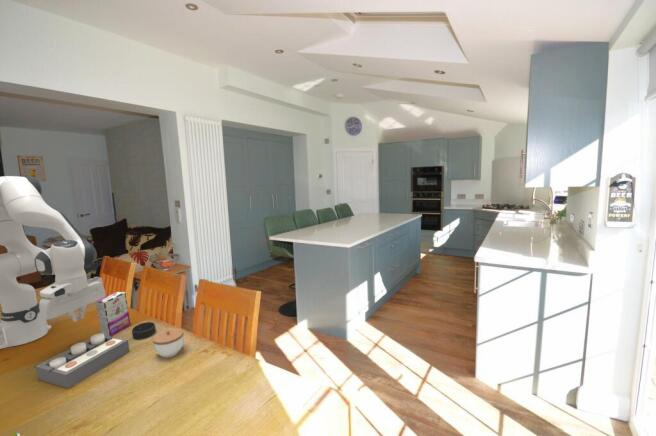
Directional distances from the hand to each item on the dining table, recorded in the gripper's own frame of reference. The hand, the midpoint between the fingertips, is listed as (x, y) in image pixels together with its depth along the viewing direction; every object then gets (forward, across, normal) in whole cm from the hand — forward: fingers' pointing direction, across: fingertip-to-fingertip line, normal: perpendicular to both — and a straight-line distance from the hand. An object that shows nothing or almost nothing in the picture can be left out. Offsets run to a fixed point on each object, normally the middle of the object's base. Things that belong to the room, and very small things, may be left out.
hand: (78, 319), depth 116 cm
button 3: (+14, -5, 0) cm, 15 cm away
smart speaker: (+17, -22, +5) cm, 28 cm away
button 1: (+15, +8, 0) cm, 18 cm away
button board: (+17, +1, +3) cm, 17 cm away
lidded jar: (+17, -14, +28) cm, 36 cm away
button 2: (+14, +1, 0) cm, 14 cm away
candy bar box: (+17, -20, -11) cm, 29 cm away
